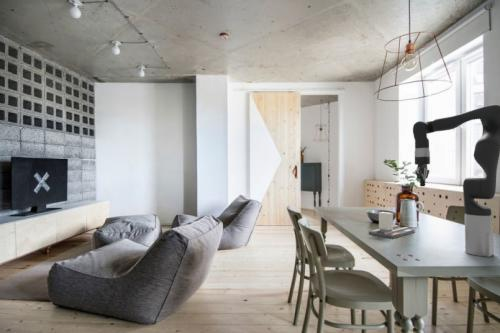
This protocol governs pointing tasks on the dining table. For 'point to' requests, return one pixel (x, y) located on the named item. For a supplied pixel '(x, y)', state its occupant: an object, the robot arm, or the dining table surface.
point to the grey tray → (393, 232)
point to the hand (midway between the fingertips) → (422, 186)
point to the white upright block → (385, 221)
